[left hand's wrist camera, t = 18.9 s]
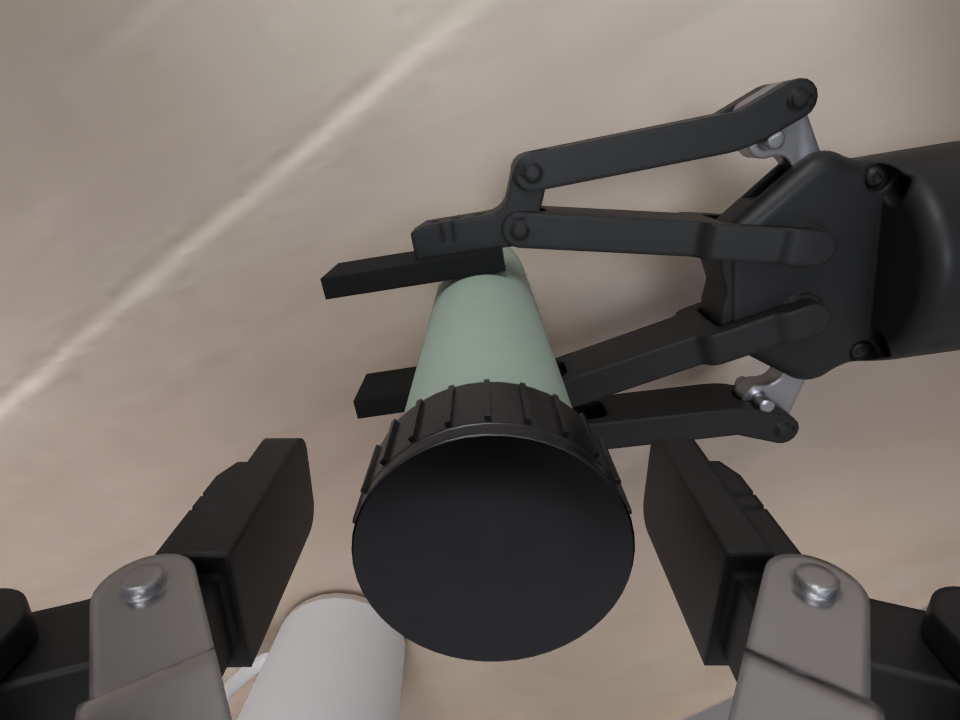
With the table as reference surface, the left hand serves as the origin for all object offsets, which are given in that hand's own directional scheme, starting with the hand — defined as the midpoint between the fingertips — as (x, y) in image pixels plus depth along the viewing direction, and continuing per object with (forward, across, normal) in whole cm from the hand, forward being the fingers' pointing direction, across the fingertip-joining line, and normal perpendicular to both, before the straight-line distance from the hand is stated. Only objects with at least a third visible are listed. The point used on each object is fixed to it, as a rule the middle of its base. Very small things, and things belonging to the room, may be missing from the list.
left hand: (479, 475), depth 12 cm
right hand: (+11, -5, -1) cm, 12 cm away
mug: (+17, -10, -23) cm, 30 cm away
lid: (-2, 0, 0) cm, 2 cm away
